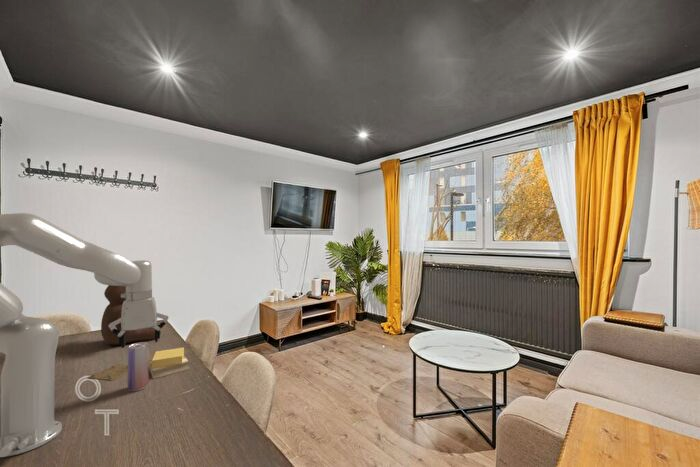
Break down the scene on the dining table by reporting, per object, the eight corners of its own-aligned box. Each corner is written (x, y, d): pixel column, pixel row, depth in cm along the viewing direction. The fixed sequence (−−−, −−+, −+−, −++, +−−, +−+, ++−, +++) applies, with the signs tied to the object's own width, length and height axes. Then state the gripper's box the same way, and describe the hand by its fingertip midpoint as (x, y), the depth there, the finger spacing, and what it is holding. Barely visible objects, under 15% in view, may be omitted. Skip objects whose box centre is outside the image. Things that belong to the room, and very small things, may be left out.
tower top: (182, 363, 117) (182, 355, 117) (151, 368, 112) (151, 360, 112) (183, 354, 126) (183, 347, 126) (155, 358, 121) (156, 351, 121)
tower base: (188, 369, 118) (188, 361, 118) (153, 378, 111) (153, 370, 111) (182, 359, 127) (182, 352, 127) (148, 367, 120) (148, 360, 120)
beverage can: (124, 393, 100) (124, 348, 101) (132, 384, 106) (132, 342, 106) (144, 390, 102) (144, 347, 102) (151, 382, 108) (151, 341, 108)
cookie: (112, 382, 109) (112, 379, 109) (86, 379, 111) (86, 376, 111) (141, 368, 120) (141, 365, 120) (117, 365, 123) (117, 363, 123)
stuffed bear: (166, 341, 151) (167, 272, 151) (109, 354, 133) (111, 276, 134) (147, 329, 169) (148, 268, 170) (95, 339, 152) (97, 271, 153)
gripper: (105, 301, 97) (107, 353, 97) (167, 294, 106) (168, 342, 106) (110, 296, 103) (111, 345, 104) (168, 291, 112) (169, 335, 112)
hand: (140, 343), depth 105 cm, fingers open, 9 cm apart
